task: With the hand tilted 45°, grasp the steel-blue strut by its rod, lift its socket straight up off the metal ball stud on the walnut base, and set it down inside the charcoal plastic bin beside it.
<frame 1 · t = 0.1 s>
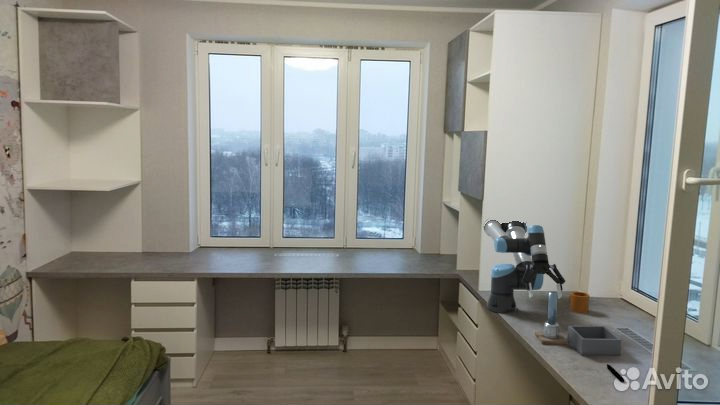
hand: (545, 297, 245), 15 cm above the table, tool tilted 35°, fingers open, 13 cm apart
stud base: (550, 339, 234), on the table
pen: (614, 375, 200), on the table
mug: (577, 310, 275), on the table
strut: (551, 334, 234), point 2 cm above the table, touching stud base
bin: (592, 348, 224), on the table
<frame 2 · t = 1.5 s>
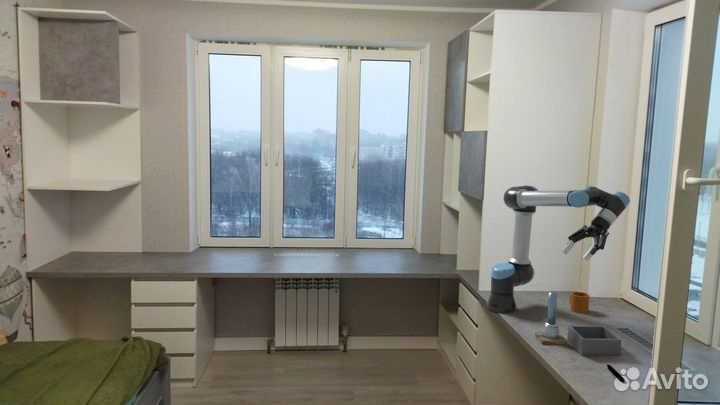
hand: (574, 255, 232), 38 cm above the table, tool tilted 45°, fingers open, 13 cm apart
nothing on the table moved.
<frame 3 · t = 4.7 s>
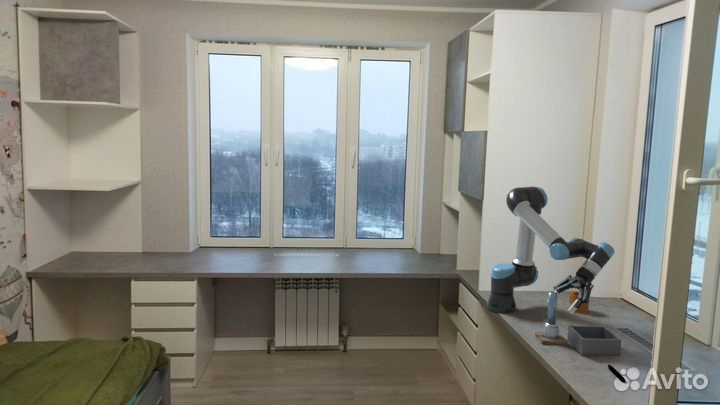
hand: (559, 307, 232), 15 cm above the table, tool tilted 45°, fingers open, 13 cm apart
nothing on the table moved.
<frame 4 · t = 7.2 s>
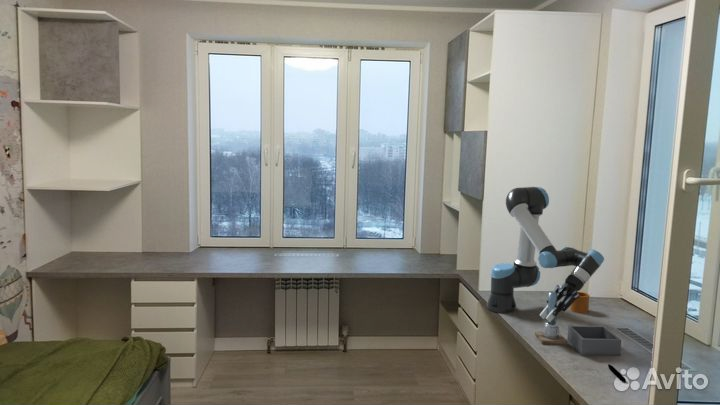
hand: (544, 318, 231), 10 cm above the table, tool tilted 45°, fingers closed on strut, 3 cm apart
strut: (551, 334, 234), point 3 cm above the table, touching gripper, stud base
everything else where it was.
when the fingers open (11 cm above the table, at t = 13.4 s): strut drops 2 cm, resting on bin.
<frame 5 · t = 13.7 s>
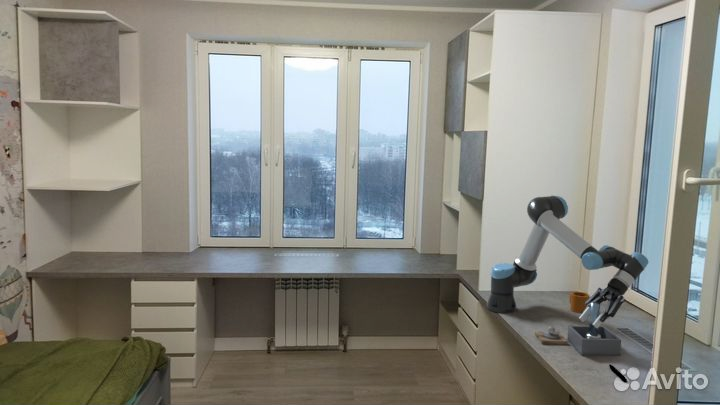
hand: (587, 323, 222), 12 cm above the table, tool tilted 45°, fingers open, 7 cm apart
strut: (592, 345, 224), point 1 cm above the table, touching bin
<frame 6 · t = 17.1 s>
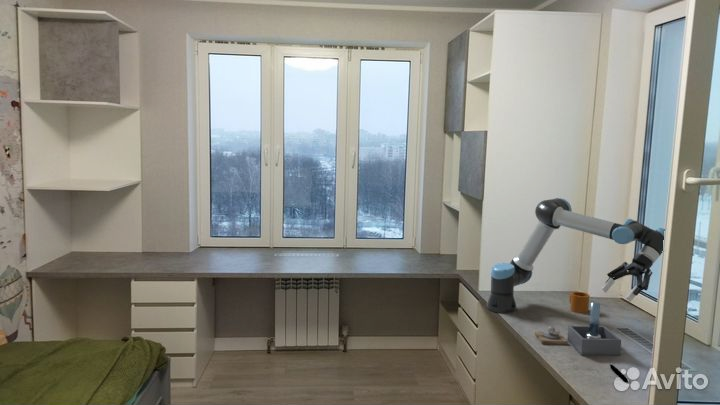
hand: (615, 295, 225), 23 cm above the table, tool tilted 45°, fingers open, 13 cm apart
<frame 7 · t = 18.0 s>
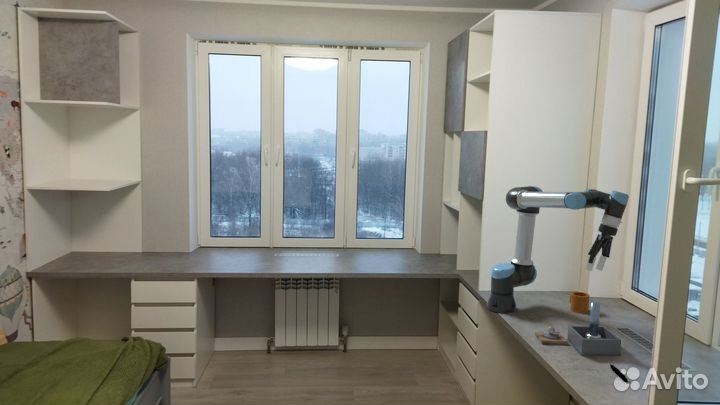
hand: (593, 269, 235), 31 cm above the table, tool tilted 15°, fingers open, 13 cm apart
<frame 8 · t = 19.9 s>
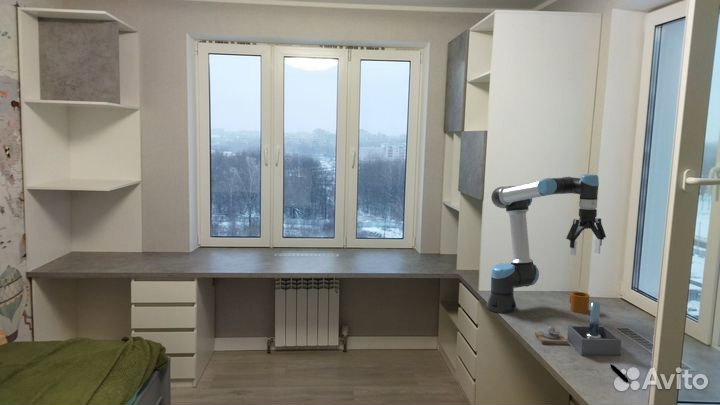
hand: (585, 253, 241), 37 cm above the table, tool pointing down, fingers open, 13 cm apart
at the end: strut inside the target area on the bin (0.0 cm from its centre), point 1.0 cm above the bin's base; strut touching bin; the gripper is holding nothing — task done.
